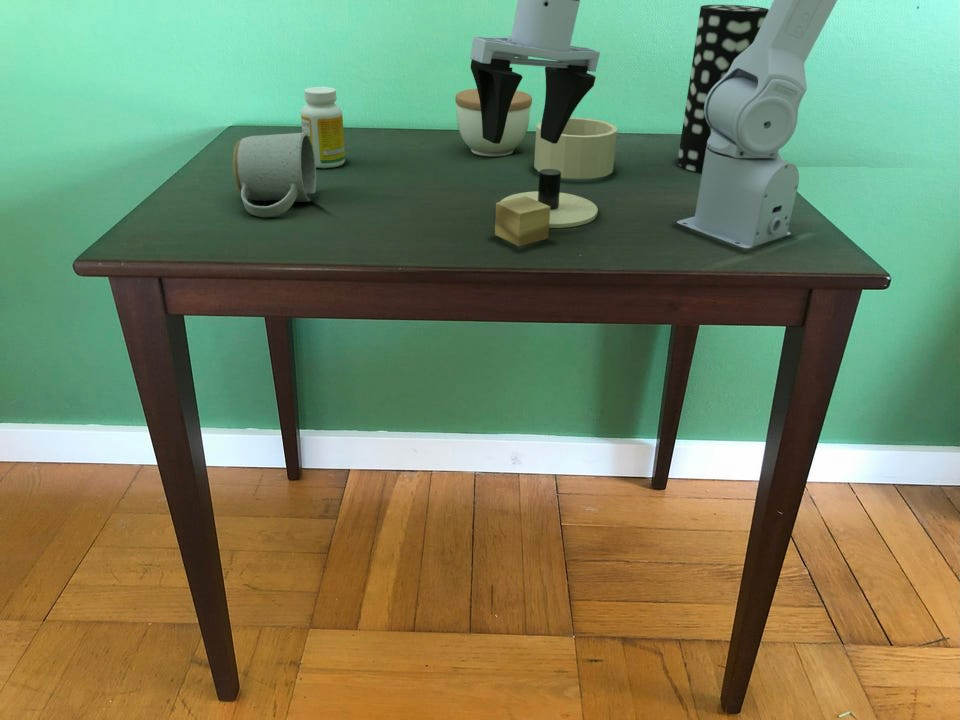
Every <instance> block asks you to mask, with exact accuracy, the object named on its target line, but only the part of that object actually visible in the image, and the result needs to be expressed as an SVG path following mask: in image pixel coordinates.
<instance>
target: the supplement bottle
mask: <svg viewBox="0 0 960 720" xmlns="http://www.w3.org/2000/svg"><path fill="white" fill-rule="evenodd" d="M304 100H305V102H306V104H305V105H304V106H302V108H301V110H300V119H301V131H302V132H301V133H306V134H307V135H308V136H309V137H310V140H311V143H312V146H313V151H314V157H315V164H316V169H330V168H332V169H333V168H338V167H341V166H342V165H344V164H345V163H346V150H345V134H344V133H345V132H344V116H343V110H342V108H341V107H340V106H339V105H337V104H335V102H336V101H337V90H336V88H334V87H330V86H313V87H307V88H305V89H304Z"/></svg>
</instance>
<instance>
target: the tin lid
mask: <svg viewBox="0 0 960 720" xmlns="http://www.w3.org/2000/svg"><path fill="white" fill-rule="evenodd" d="M538 174H539V175H538V187H537V189H538V191H537V190H536V191H526V192H524V191H523V192H519V193H514V194H510V195H507V196H506V197H504V198H502V199H501V200H500V201H499V202H502V201H507V200H511V199H515V198H520V197H524V196H526V197H529V198H531V199H534V200H536V201H538V202H541V203H543V204H546V205H548V206H550V220H549V229H564V228H574V227H579V226H583V225H586V224H588V223H591V222H593V221H594V220H595V219H596V218H597V216H598V211H599V209H598V207H597V205H596V204H595V203H594V202H592V201H591V200H590V199H587V198H585V197H581V196H580V195H575V194H571V193H566V192H561V181H562V178H561V172H560V171H559V170H556V169H543V170H540V172H539V171H538Z"/></svg>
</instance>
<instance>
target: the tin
mask: <svg viewBox="0 0 960 720" xmlns="http://www.w3.org/2000/svg"><path fill="white" fill-rule="evenodd" d="M541 123H542V120H541V121H539V122H537V124H536V128H535V145H534V163H533V165H534V166H533V168H534V169H535V170H536V171H538V173H539V172H540V170H543V169H556V170H559V171H560V172H561V179H568V180H569V179H570V180H591V179H598V178H599V179H600V178H604V177H607V176H609V175H610V174H612V173H613V172H614V165H615V164H614V163H615V155H616V147H617V146H616V145H617V135H618V127H617V126H616V125H615V124H613V123H611V122H607V121H604V120H599V119H593V118H586V117H570V118H569V120H568V122H567V124H566V126H565V128H564V130H563V132H562V134H561V136H560V138H559V140H558V142H557V143H551V142H549V141H546V140H544V139H542V138H540V137H541Z"/></svg>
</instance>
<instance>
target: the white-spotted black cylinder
mask: <svg viewBox="0 0 960 720" xmlns="http://www.w3.org/2000/svg"><path fill="white" fill-rule="evenodd" d="M769 9H770V8H767V7H761V6H753V5H742V4H741V5H740V4H703V5H701V6H700V8H699V14H698V22H697V29H696V35H695V42H694V48H693V56H692V62H691V68H690V76H689V83H688V88H687V95H686V103H685V110H684V115H683V123H682V128H681V136H680V143H679V148H678V149H679V150H678V156H677V163H676V164H677V165H678V166H679V167H681V168H683V169H685V170H689V171H691V172H695V173H696V172H697V173H701V174H702V170H703V164H704V158H705V152H706V147H707V141H708V139H709V137H710V135H711V127H710V126H709V125H708V123H707V122H706V119H705V115H704V105H705V101H706V97H707V95H708V93H709V92H710V90H711V89H712V87H713V86H714V85H715V84H716V83H717V82H718V81H720V80H721V79H722V78H723V77H724V76H725V75H726V73H727V72H728V71H729V69H730V67H731V65H732V63H733V61H734V59H735V58H736V57H737V56H738V55H740V54H741V53H742V52H743V51H744V50H745V49H747V48H748V47H749V46H750V45H751V44H752V43H753V42H754V40H755V38H756V36H757V34H758V32H759V30H760V27H761V25H762V23H763V21H764V19H765V17H766V15H767V13H768V11H769Z"/></svg>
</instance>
